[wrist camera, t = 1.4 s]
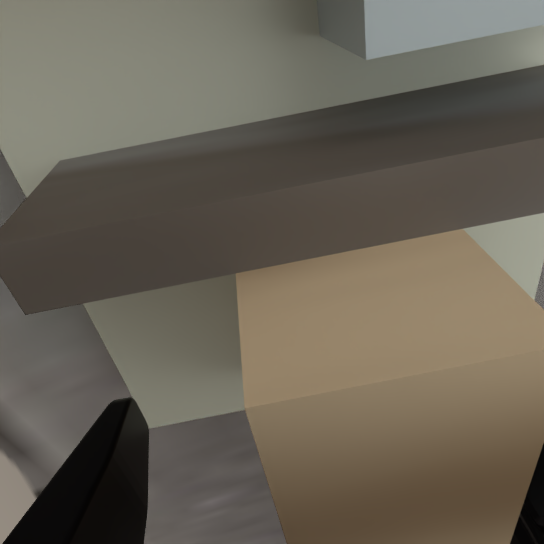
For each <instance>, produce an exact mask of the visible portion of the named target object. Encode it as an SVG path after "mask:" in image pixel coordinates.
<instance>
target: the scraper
mask: <svg viewBox="0 0 544 544" xmlns="http://www.w3.org/2000/svg"><path fill="white" fill-rule="evenodd" d="M540 213H544V65H540V66H535V67H530V68H525V69H520V70H515V71H510V72H504V73H499V74H494V75H489V76H484V77H479V78H474V79H469V80H464V81H459V82H454V83H449V84H444V85H439V86H434V87H429V88H424V89H419V90H414V91H409V92H403V93H398V94H393V95H388V96H383V97H378V98H373V99H368V100H363V101H358V102H353V103H348V104H343V105H338V106H333V107H328V108H323V109H318V110H313V111H307V112H302V113H297V114H292V115H287V116H282V117H277V118H272V119H267V120H262V121H257V122H252V123H247V124H242V125H237V126H232V127H227V128H222V129H217V130H212V131H206V132H201V133H196V134H191V135H186V136H181V137H176V138H171V139H166V140H161V141H156V142H151V143H146V144H141V145H136V146H131V147H126V148H121V149H116V150H110V151H105V152H100V153H95V154H90V155H85V156H80V157H75V158H70V159H65V160H60V161H59V162H58V163H57V164H56V165H55V167H54V168H53V169H52V170H51V171H50V172H49V173H48V175H47V176H46V177H45V178H44V179H43V180H42V181H41V182H40V184H39V185H38V186H37V187H36V188H35V189H34V190H33V192H32V193H31V194H30V195H29V196H28V197H27V198H26V200H25V201H24V202H23V203H22V204H21V205H20V206H19V208H18V209H17V210H16V211H15V212H14V213H13V214H12V215H11V217H10V218H9V219H8V220H7V221H6V222H5V223H4V225H3V226H2V227H1V228H0V276H1V278H2V279H3V281H4V283H5V284H6V286H7V287H8V289H9V290H10V292H11V293H12V295H13V297H14V298H15V300H16V301H17V303H18V304H19V306H20V307H21V309H22V311H23V312H24V314H25V315H28V314H33V313H38V312H43V311H48V310H53V309H58V308H63V307H68V306H73V305H78V304H83V303H88V302H94V301H99V300H104V299H109V298H114V297H119V296H124V295H129V294H134V293H139V292H144V291H149V290H154V289H160V288H165V287H170V286H175V285H180V284H185V283H190V282H195V281H200V280H205V279H210V278H215V277H220V276H226V275H231V274H236V287H237V302H238V317H239V332H240V347H241V362H242V377H243V392H244V407H245V411H246V414H247V418H248V421H249V424H250V427H251V430H252V434H253V437H254V440H255V443H256V446H257V450H258V453H259V456H260V459H261V462H262V466H263V469H264V472H265V475H266V478H267V482H268V485H269V488H270V491H271V494H272V498H273V501H274V504H275V507H276V510H277V514H278V517H279V520H280V523H281V526H282V530H283V533H284V536H285V539H286V542H287V544H510V542H511V539H512V536H513V533H514V530H515V527H516V524H517V521H518V518H519V515H520V512H521V509H522V506H523V503H524V500H525V497H526V494H527V491H528V488H529V485H530V482H531V479H532V476H533V473H534V470H535V467H536V464H537V461H538V458H539V455H540V452H541V449H542V446H543V443H544V310H543V309H542V308H541V307H540V306H539V305H538V304H537V303H536V302H535V301H534V300H533V299H532V298H531V297H530V296H529V295H528V294H527V293H526V292H525V291H524V290H523V289H522V288H521V287H520V286H519V285H518V284H517V283H516V282H515V281H514V280H513V279H512V278H511V277H510V276H509V275H508V274H507V273H506V272H505V271H504V270H503V269H502V268H501V267H500V266H499V265H498V264H497V263H496V262H495V261H494V260H493V259H492V258H491V257H490V256H489V255H488V254H487V253H486V252H485V251H484V250H483V249H482V248H481V247H480V246H479V245H478V244H477V243H476V242H475V241H474V240H473V239H472V238H471V237H470V236H469V235H468V234H467V233H466V232H465V231H464V230H463V229H464V228H469V227H474V226H479V225H484V224H490V223H495V222H500V221H505V220H510V219H515V218H520V217H525V216H530V215H535V214H540Z"/></svg>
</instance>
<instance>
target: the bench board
mask: <svg viewBox="0 0 544 544" xmlns="http://www.w3.org/2000/svg"><path fill="white" fill-rule="evenodd" d="M540 65H544V25H540V26H535V27H530V28H525V29H520V30H515V31H510V32H505V33H500V34H495V35H490V36H485V37H480V38H475V39H470V40H465V41H460V42H455V43H450V44H445V45H440V46H434V47H429V48H424V49H419V50H414V51H409V52H404V53H399V54H394V55H389V56H384V57H379V58H374V59H369V60H365V59H363V58H361V57H359V56H357V55H355V54H354V53H352V52H350V51H348V50H346V49H344V48H342V47H340V46H338V45H336V44H334V43H332V42H330V41H328V40H326V39H324V38H323V37H321V36H320V34H319V23H318V11H317V0H0V149H1V151H2V153H3V155H4V157H5V159H6V161H7V163H8V164H9V166H10V168H11V170H12V172H13V174H14V176H15V178H16V179H17V181H18V183H19V185H20V187H21V189H22V191H23V193H24V194H25V196H26V198H27V197H28V196H29V195H30V194H31V193H32V192H33V190H34V189H35V188H36V187H37V186H38V185H39V184H40V182H41V181H42V180H43V179H44V178H45V177H46V176H47V175H48V173H49V172H50V171H51V170H52V169H53V168H54V167H55V165H56V164H57V163H58V162H59V161H60V160H65V159H70V158H75V157H80V156H85V155H90V154H95V153H100V152H105V151H110V150H116V149H121V148H126V147H131V146H136V145H141V144H146V143H151V142H156V141H161V140H166V139H171V138H176V137H181V136H186V135H191V134H196V133H201V132H206V131H212V130H217V129H222V128H227V127H232V126H237V125H242V124H247V123H252V122H257V121H262V120H267V119H272V118H277V117H282V116H287V115H292V114H297V113H302V112H307V111H313V110H318V109H323V108H328V107H333V106H338V105H343V104H348V103H353V102H358V101H363V100H368V99H373V98H378V97H383V96H388V95H393V94H398V93H403V92H409V91H414V90H419V89H424V88H429V87H434V86H439V85H444V84H449V83H454V82H459V81H464V80H469V79H474V78H479V77H484V76H489V75H494V74H499V73H504V72H510V71H515V70H520V69H525V68H530V67H535V66H540ZM463 230H464V231H465V232H466V233H467V234H468V235H469V236H470V237H471V238H472V239H473V240H474V241H475V242H476V243H477V244H478V245H479V246H480V247H481V248H482V249H483V250H484V251H485V252H486V253H487V254H488V255H489V256H490V257H491V258H492V259H493V260H494V261H495V262H496V263H497V264H498V265H499V266H500V267H501V268H502V269H503V270H504V271H505V272H506V273H507V274H508V275H509V276H510V277H511V278H512V279H513V280H514V281H515V282H516V283H517V284H518V285H519V286H520V287H521V288H522V289H523V290H524V291H525V292H526V293H527V294H528V295H529V296H530V297H531V298H532V299H533V300H535V296H536V291H537V287H538V283H539V279H540V275H541V270H542V266H543V262H544V213H540V214H535V215H530V216H525V217H520V218H515V219H510V220H505V221H500V222H495V223H490V224H484V225H479V226H474V227H469V228H464V229H463ZM83 305H84V307H85V309H86V311H87V312H88V314H89V316H90V318H91V320H92V322H93V324H94V326H95V327H96V329H97V331H98V333H99V335H100V337H101V339H102V341H103V342H104V344H105V346H106V348H107V350H108V352H109V354H110V356H111V357H112V359H113V361H114V363H115V365H116V367H117V369H118V371H119V372H120V374H121V376H122V378H123V380H124V382H125V384H126V386H127V387H128V389H129V391H130V393H131V395H132V397H133V399H135V401H136V402H137V404H138V406H139V408H140V410H141V412H142V414H143V416H144V418H145V419H146V422H147V424H148V427H149V429H150V428H155V427H160V426H165V425H171V424H176V423H181V422H186V421H191V420H196V419H201V418H206V417H211V416H216V415H222V414H227V413H232V412H237V411H242V410H245V407H244V392H243V377H242V362H241V347H240V332H239V317H238V302H237V287H236V274H231V275H226V276H220V277H215V278H210V279H205V280H200V281H195V282H190V283H185V284H180V285H175V286H170V287H165V288H160V289H154V290H149V291H144V292H139V293H134V294H129V295H124V296H119V297H114V298H109V299H104V300H99V301H94V302H88V303H83Z"/></svg>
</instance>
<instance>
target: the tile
mask: <svg viewBox="0 0 544 544" xmlns="http://www.w3.org/2000/svg"><path fill="white" fill-rule="evenodd" d="M317 11H318V23H319V34H320V36H321V37H323V38H324V39H326V40H328V41H330V42H332V43H334V44H336V45H338V46H340V47H342V48H344V49H346V50H348V51H350V52H352V53H354V54H355V55H357V56H359V57H361V58H363V59H365V60H369V59H374V58H379V57H384V56H389V55H394V54H399V53H404V52H409V51H414V50H419V49H424V48H429V47H434V46H440V45H445V44H450V43H455V42H460V41H465V40H470V39H475V38H480V37H485V36H490V35H495V34H500V33H505V32H510V31H515V30H520V29H525V28H530V27H535V26H540V25H544V0H317Z"/></svg>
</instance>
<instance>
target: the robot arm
mask: <svg viewBox="0 0 544 544" xmlns="http://www.w3.org/2000/svg"><path fill="white" fill-rule="evenodd" d="M148 458H149V429H148V424H147V422H146V419H145V418H144V416H143V414H142V412H141V410H140V408H139V406H138V404H137V402H136V401H135V399H133V398H130V397H128V398H123V399H118V400H114V401H112V402H111V403H110V404H109V405H108V406H107V407H106V409H105V410H104V411H103V412H102V414H101V415H100V416H99V418H98V419H97V420H96V422H95V423H94V424H93V426H92V427H91V428H90V430H89V431H88V432H87V433H86V435H85V436H84V437H83V439H82V440H81V441H80V443H79V444H78V445H77V447H76V448H75V449H74V450H73V452H72V453H71V454H70V456H69V457H68V458H67V460H66V461H65V462H64V464H63V465H62V466H61V468H60V469H59V470H58V471H57V473H56V474H55V475H54V477H53V478H52V479H51V481H50V482H49V483H48V485H47V486H46V487H45V488H44V490H43V491H42V492H41V494H40V495H39V496H38V498H37V499H36V500H35V502H34V503H33V504H32V506H31V507H30V508H29V510H28V511H27V512H26V513H25V515H24V516H23V517H22V519H21V520H20V521H19V523H18V524H17V525H16V526H15V528H14V529H13V530H12V532H11V533H10V534H9V536H8V537H7V538H6V540H5V541H4V542H3V544H144V536H145V528H146V519H147V508H148ZM510 544H544V443H543V446H542V449H541V452H540V455H539V458H538V461H537V464H536V467H535V470H534V473H533V476H532V479H531V482H530V485H529V488H528V491H527V494H526V497H525V500H524V503H523V506H522V509H521V512H520V515H519V518H518V521H517V524H516V527H515V530H514V533H513V536H512V539H511V542H510Z"/></svg>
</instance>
